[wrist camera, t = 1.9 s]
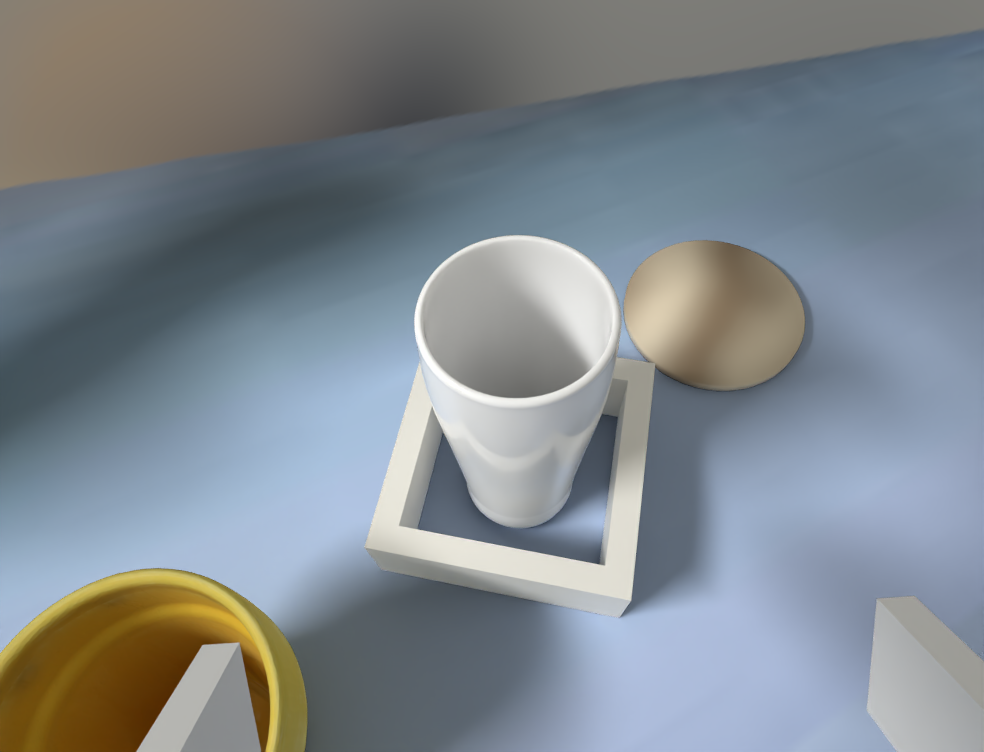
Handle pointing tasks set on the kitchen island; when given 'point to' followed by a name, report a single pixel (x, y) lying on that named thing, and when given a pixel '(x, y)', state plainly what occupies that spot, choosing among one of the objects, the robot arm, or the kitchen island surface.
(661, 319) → the wooden coaster
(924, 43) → the kitchen island surface
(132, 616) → the plant pot
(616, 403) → the square holder
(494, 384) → the white cup
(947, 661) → the robot arm
